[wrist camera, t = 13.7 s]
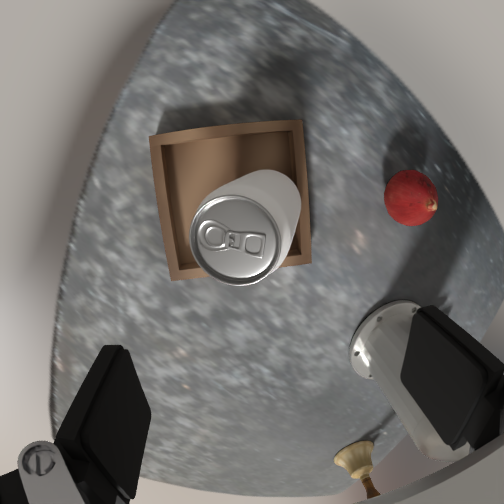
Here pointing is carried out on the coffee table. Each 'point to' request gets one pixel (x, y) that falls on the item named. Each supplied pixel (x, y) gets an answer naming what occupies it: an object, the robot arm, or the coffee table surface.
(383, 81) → the coffee table surface
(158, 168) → the tray
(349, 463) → the hand bell
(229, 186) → the can
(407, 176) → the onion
